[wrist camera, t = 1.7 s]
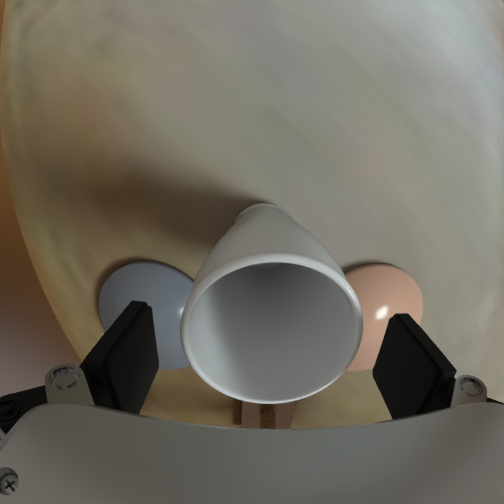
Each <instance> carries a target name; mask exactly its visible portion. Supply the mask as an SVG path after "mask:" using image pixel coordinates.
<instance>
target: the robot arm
mask: <svg viewBox="0 0 504 504" xmlns="http://www.w3.org/2000/svg"><path fill="white" fill-rule="evenodd" d="M158 368H159V357H158V351H157V344H156V336H155V329H154V320H153V312H152V307H151V306H148V304H147V302H143V301H135V300H132V301H131V302H130V303H129V304H128V306H127V307H126V308H125V309H124V310H123V312H122V313H121V314H120V315H119V316H118V318H117V319H116V320H115V321H114V323H113V324H112V325H111V326H110V327H109V329H108V330H107V331H106V332H105V334H104V335H103V336H102V337H101V339H100V340H99V341H98V342H97V344H96V345H95V346H94V347H93V349H92V350H91V351H90V353H89V354H88V355H87V356H86V358H85V359H84V360H83V362H82V363H81V365H80V366H79V367H78V366H76V365H73V364H61V365H58V366H55V367H54V368H52V369H51V370H49V372H48V373H47V374H46V376H45V385H44V386H40V387H36V388H33V389H29V390H25V391H21V392H17V393H13V394H8V395H5V396H2V397H1V398H0V504H504V403H502V402H499V401H496V400H493V399H490V398H488V397H487V389H486V386H485V385H484V383H483V382H482V381H481V380H479V379H478V378H476V377H474V376H471V375H462V376H459V377H458V378H457V379H455V378H454V375H455V373H456V371H457V370H456V369H455V368H454V367H453V365H452V364H451V363H450V362H449V360H448V359H447V358H446V357H445V355H444V354H443V353H442V352H441V351H440V349H439V348H438V347H437V346H436V345H435V343H434V342H433V341H432V340H431V339H430V338H429V336H428V335H427V334H426V333H425V332H424V331H423V329H422V328H421V327H420V326H419V325H418V324H417V323H416V321H415V320H414V319H413V318H412V317H411V316H410V315H409V314H408V313H396V314H394V315H393V317H391V318H390V319H389V321H388V325H387V328H386V331H385V335H384V338H383V341H382V344H381V347H380V350H379V353H378V356H377V359H376V362H375V365H374V367H373V378H374V380H375V382H376V384H377V386H378V388H379V390H380V392H381V395H382V397H383V399H384V401H385V403H386V405H387V408H388V410H389V412H390V414H391V417H392V419H393V420H387V421H380V422H373V423H366V424H358V425H348V426H337V427H324V428H303V429H259V428H237V427H223V426H212V425H203V424H194V423H187V422H180V421H173V420H167V419H161V418H155V417H150V416H145V415H140V414H139V412H140V410H141V408H142V405H143V403H144V401H145V398H146V396H147V394H148V391H149V389H150V387H151V384H152V382H153V380H154V378H155V375H156V373H157V371H158Z"/></svg>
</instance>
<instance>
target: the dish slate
mask: <svg viewBox="0 0 504 504" xmlns="http://www.w3.org/2000/svg"><path fill="white" fill-rule="evenodd" d="M193 282H194V280H193V279H192V278H191V277H190V276H188V275H187V274H185V273H184V272H183V271H181V270H179V269H177V268H175V267H173V266H171V265H168V264H166V263H162V262H158V261H151V260H141V261H135V262H131V263H128V264H126V265H124V266H122V267H120V268H119V269H117V270H116V271H115V272H114V273H113V274H112V275H111V276H110V277H109V278H108V279H107V280H106V282H105V283H104V285H103V287H102V289H101V292H100V296H99V313H100V318H101V321H102V324H103V326H104V329H105V330H106V331H107V330H108V329H109V327H110V326H111V325H112V324H113V323H114V321H115V320H116V319H117V318H118V316H119V315H120V314H121V313H122V312H123V310H124V309H125V308H126V307H127V306H128V304H129V303H130V302H131V301H132V300H135V301H143V302H147V304H148V306H151V307H152V312H153V320H154V329H155V336H156V344H157V351H158V357H159V368H158V369H165V370H174V369H181V368H185V367H188V366H190V364H189V362H188V360H187V358H186V356H185V353H184V351H183V348H182V344H181V338H180V321H181V316H182V312H183V309H184V306H185V304H186V301H187V298H188V295H189V293H190V290H191V287H192V285H193Z"/></svg>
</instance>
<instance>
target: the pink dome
mask: <svg viewBox="0 0 504 504" xmlns="http://www.w3.org/2000/svg"><path fill="white" fill-rule="evenodd" d="M344 274H345V276H346V278H347V279H348V281H349V283H350V285H351V287H352V289H353V290H354V292H355V294H356V295H357V297H358V300H359V302H360V305H361V309H362V313H363V336H362V340H361V344H360V347H359V349H358V352H357V354H356V356H355V358H354V359H353V361H352V363H351V364H350V365H349V367H348V368H347V369H346V371H361V370H366V369H371V368H373V367H374V365H375V362H376V359H377V356H378V353H379V350H380V347H381V344H382V341H383V338H384V335H385V331H386V328H387V325H388V321H389V319H390V318H391V317H393V315H394V314H396V313H408V314H409V315H410V316H411V317H412V318H413V319H414V320H415V321H416V323H417V324H418V325H419V324H420V321H421V318H422V313H423V298H422V294H421V291H420V289H419V286H418V285H417V283H416V282H415V280H414V279H413V278H412V277H411V276H409V275H408V274H407V273H406V272H405V271H403V270H402V269H400V268H398V267H396V266H393V265H390V264H384V263H373V264H366V265H363V266H359V267H357V268H354V269H352V270H350V271H348V272H346V273H344Z"/></svg>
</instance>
